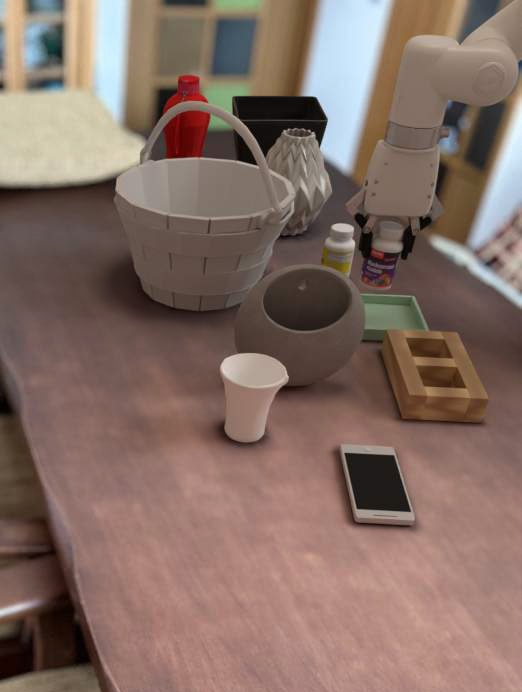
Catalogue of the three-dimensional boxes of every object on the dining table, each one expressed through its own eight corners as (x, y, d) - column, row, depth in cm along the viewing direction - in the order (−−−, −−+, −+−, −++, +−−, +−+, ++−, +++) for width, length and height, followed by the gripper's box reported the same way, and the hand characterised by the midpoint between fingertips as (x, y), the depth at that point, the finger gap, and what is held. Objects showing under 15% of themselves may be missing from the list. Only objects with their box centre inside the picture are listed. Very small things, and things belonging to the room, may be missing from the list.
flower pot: (229, 200, 182) (237, 117, 171) (224, 172, 196) (231, 94, 185) (315, 202, 181) (329, 120, 170) (304, 174, 196) (316, 96, 184)
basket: (198, 235, 167) (211, 69, 147) (328, 299, 146) (364, 115, 126) (72, 272, 153) (68, 94, 133) (196, 348, 132) (213, 150, 112)
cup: (265, 457, 110) (276, 392, 104) (202, 437, 114) (208, 373, 107) (288, 425, 116) (300, 362, 109) (228, 406, 119) (235, 344, 113)
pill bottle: (357, 288, 134) (373, 229, 127) (358, 275, 138) (374, 216, 131) (391, 294, 133) (409, 234, 126) (391, 280, 137) (408, 222, 130)
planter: (229, 395, 122) (243, 273, 109) (226, 370, 127) (240, 252, 114) (354, 399, 121) (383, 278, 109) (347, 374, 126) (374, 256, 114)
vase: (238, 238, 166) (249, 140, 154) (254, 210, 178) (265, 117, 165) (319, 249, 162) (336, 149, 150) (329, 220, 174) (347, 125, 162)
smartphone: (392, 451, 111) (393, 445, 111) (414, 525, 100) (416, 519, 99) (338, 448, 112) (340, 443, 111) (354, 522, 100) (356, 516, 100)
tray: (411, 306, 144) (414, 295, 143) (427, 343, 134) (430, 331, 133) (312, 301, 145) (314, 291, 144) (320, 337, 135) (323, 326, 134)
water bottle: (151, 210, 177) (156, 80, 160) (168, 194, 184) (175, 68, 168) (191, 217, 174) (201, 86, 157) (207, 200, 182) (218, 73, 165)
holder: (450, 355, 132) (457, 332, 129) (480, 422, 117) (489, 398, 114) (380, 351, 132) (386, 328, 129) (402, 418, 118) (409, 394, 115)
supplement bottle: (324, 271, 155) (333, 219, 148) (351, 278, 153) (363, 225, 146) (313, 282, 151) (323, 229, 145) (342, 289, 149) (353, 235, 143)
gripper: (465, 129, 122) (432, 249, 134) (349, 125, 123) (326, 244, 135) (478, 145, 117) (442, 268, 129) (356, 140, 118) (332, 263, 130)
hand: (383, 254), depth 132 cm, fingers closed on pill bottle, 5 cm apart
